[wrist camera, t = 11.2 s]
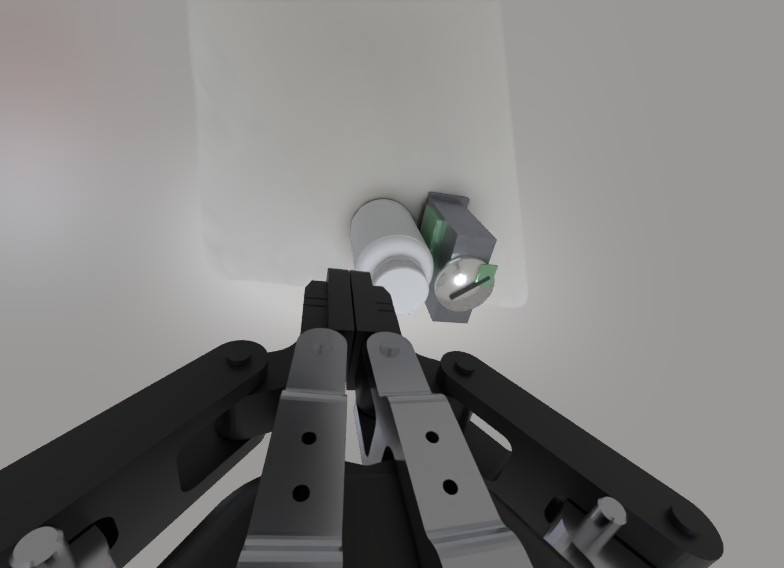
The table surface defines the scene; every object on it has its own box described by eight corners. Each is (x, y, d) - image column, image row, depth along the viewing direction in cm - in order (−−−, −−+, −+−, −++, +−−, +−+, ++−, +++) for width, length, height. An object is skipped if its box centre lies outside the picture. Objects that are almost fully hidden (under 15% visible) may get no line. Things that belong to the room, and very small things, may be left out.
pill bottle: (343, 250, 46) (348, 320, 34) (359, 190, 43) (371, 243, 30) (401, 262, 48) (427, 333, 36) (421, 206, 45) (458, 262, 32)
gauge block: (403, 270, 49) (424, 330, 38) (421, 190, 44) (452, 233, 33) (444, 274, 50) (477, 333, 39) (467, 197, 45) (512, 240, 34)
